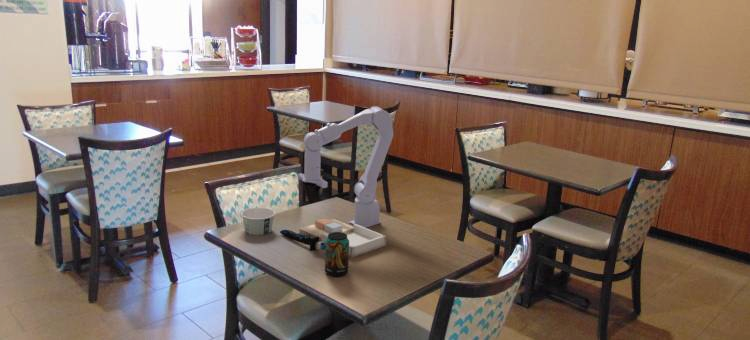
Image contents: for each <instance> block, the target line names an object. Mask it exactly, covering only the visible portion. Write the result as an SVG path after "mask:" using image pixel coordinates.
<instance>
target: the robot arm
mask: <svg viewBox="0 0 750 340" xmlns="http://www.w3.org/2000/svg"><path fill="white" fill-rule="evenodd" d="M361 125H367V126H372V125H373V127H374V128H375V130H376V132H377V134H378V136H377V138H376V141H375V144H374V146H373V149H372V151H371V154H370V157H369V158H368V162H367V164H366V167H365V171H364V173H363V174H362V175H361V176H360V177H359V180H358V181H357V182H356V183H355V185H353V192H354V194H355V195H356V196H355V198H354V211H353V212H354V214H353V219H352V220H349V221H348V223H349V224H351V225H353V226H354V224H357V225H360V226H362V227H365V228H367V229H368V228H370V227H372V226H375V225H378V224H381V223H382V222H381V221H380V213H381V212H380V211H381V208H380V207H381V206H380V203H379V201H378V199H376V197H377V188H378V177H379V175H380V172H381V169H382V167H383V165H384V161H385V159H386V156H387V154H388V153H389V152H388V151H389V148H390V146H391V144H392V141H393V139H394V127H393V118H392V115H390V114H389V112H388V111H387V110H385V109H383V108H382V107H380V106H377V105H376V106H374V105H373V106H371V107H370V108H367V109H364V110H362V111H360V112H359V113H357V114H355V115H353V116H351V117H349V118H347V119H345V120H343V121H342V122H340V123H335V122H332V123H330V122H328V123H326V125H325V126H324V127H321V128H320V129H317V128H316V129H314V130H313V131H314V132H313V131H311V132H308V133H306V134H305V136H304V138H303V142H302V143H303V144H304V145H305V146H304V165H303V166H304V167H303V169H304V170H303V171H304V173H301V172H300V173H297V180H301V181H302V182H304V183H302V187H303V189H304V191H305V193H306V197H307V201H308V203H309V204H315V203H316V199H317V197H318V193H319V191H320V190H321V189H326V188H328V185H329V183H328V181H326V180H325V179H323V178H322V177H321V166H322V165H321V161H322V158H321V157H322V156H321V155H322V154H321V149H322V148H323V146H325V145H327V144H329V143H331V142H333V141H335V140H337V139H339V138H341V136H342V134H343V133H344V132H346V131H349V130H351V129H354V128H356V127H358V126H361Z"/></svg>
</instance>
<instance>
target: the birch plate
mask: <svg viewBox="0 0 750 340" xmlns="http://www.w3.org/2000/svg"><path fill="white" fill-rule="evenodd" d="M329 220H330V221H333V222H335V223H338V224H340V225H342V231H340V232H341V233H345V234H347V233H351V232H353V230H354V226H352V225H350V224H347V223H345V222H343V221H340V220H338V219H335V218H332V219H329ZM298 234H301V235H310V238H311V239H312V238H314V237H317V236H318V237H319V242H321V237H322V234H326V235H328V234H330V232H327V231H325V230H323V229H320V228H318V227H316V226H315V223H314V224H310V225H307V226H303V227H301V228H299V230H298Z"/></svg>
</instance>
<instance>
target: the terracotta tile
mask: <svg viewBox="0 0 750 340" xmlns="http://www.w3.org/2000/svg"><path fill="white" fill-rule="evenodd" d="M330 220H331V219H327V218H324V217H323V218H321V219H318V220H315V221H314V222H315V223H314V224H315V226H316V227H318V228H320V229H323V230H324V225H326V224H329V223H332V222H333V221H330Z"/></svg>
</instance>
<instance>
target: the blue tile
mask: <svg viewBox="0 0 750 340" xmlns="http://www.w3.org/2000/svg"><path fill="white" fill-rule="evenodd" d="M324 230H325V231H327V232H330V233H333V232H340V231H342V225H340V224H338V223H335V222H332V223H329V224H326V225H324Z"/></svg>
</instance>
